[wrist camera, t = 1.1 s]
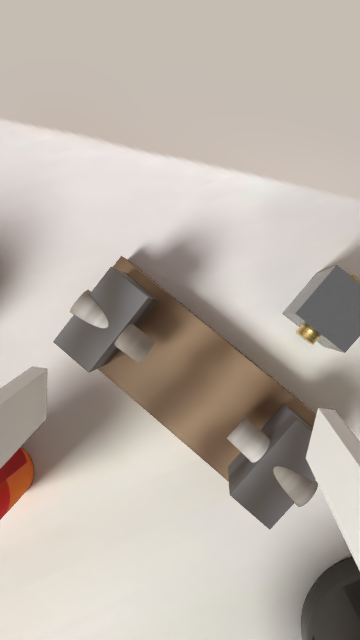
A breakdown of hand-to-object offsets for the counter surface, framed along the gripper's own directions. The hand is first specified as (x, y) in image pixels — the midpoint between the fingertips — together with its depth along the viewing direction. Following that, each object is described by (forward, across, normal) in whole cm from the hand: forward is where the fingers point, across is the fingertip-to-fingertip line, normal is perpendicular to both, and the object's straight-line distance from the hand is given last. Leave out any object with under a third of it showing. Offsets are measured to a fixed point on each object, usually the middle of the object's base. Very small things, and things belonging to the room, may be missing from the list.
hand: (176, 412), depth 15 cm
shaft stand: (+16, -1, +5) cm, 16 cm away
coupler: (+17, -12, -3) cm, 21 cm away
